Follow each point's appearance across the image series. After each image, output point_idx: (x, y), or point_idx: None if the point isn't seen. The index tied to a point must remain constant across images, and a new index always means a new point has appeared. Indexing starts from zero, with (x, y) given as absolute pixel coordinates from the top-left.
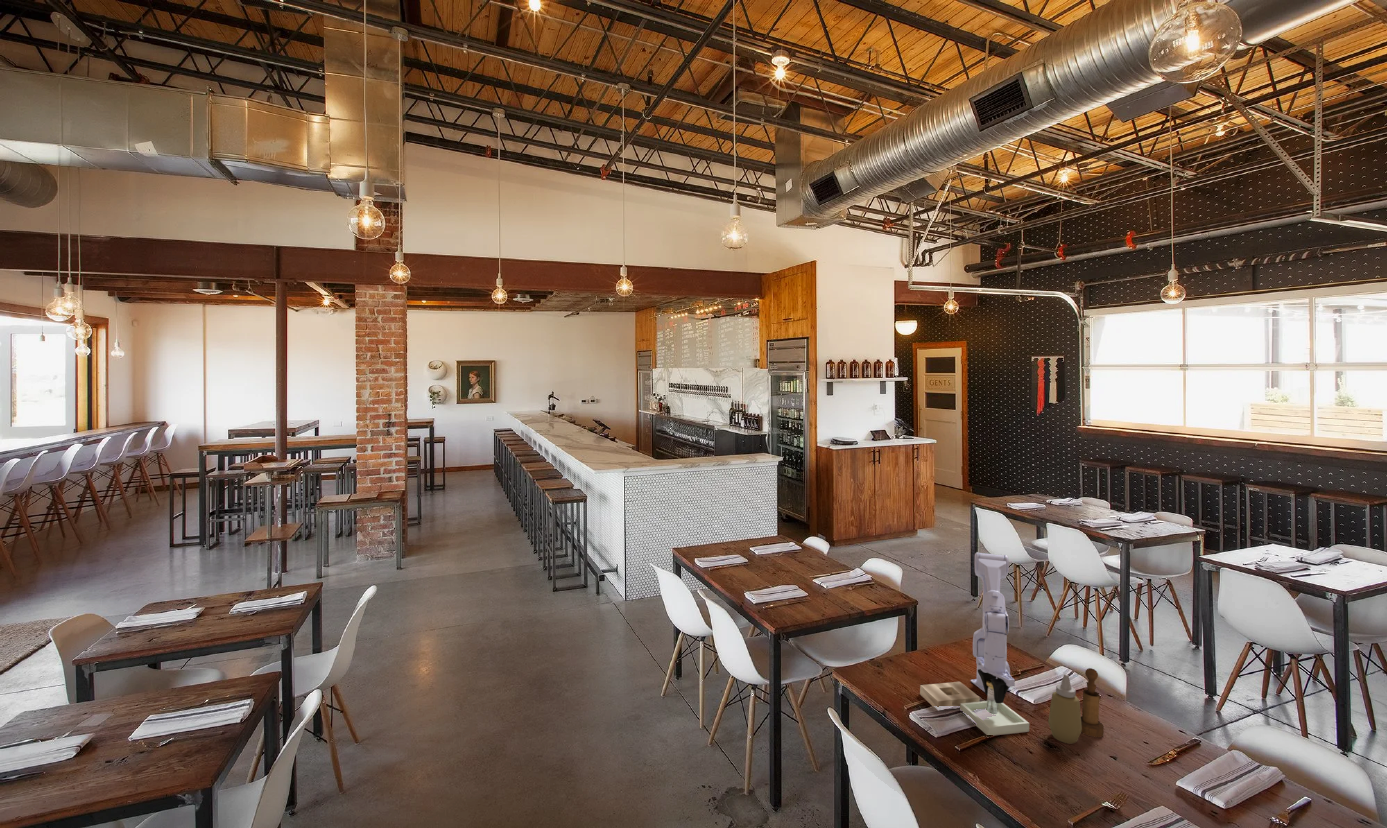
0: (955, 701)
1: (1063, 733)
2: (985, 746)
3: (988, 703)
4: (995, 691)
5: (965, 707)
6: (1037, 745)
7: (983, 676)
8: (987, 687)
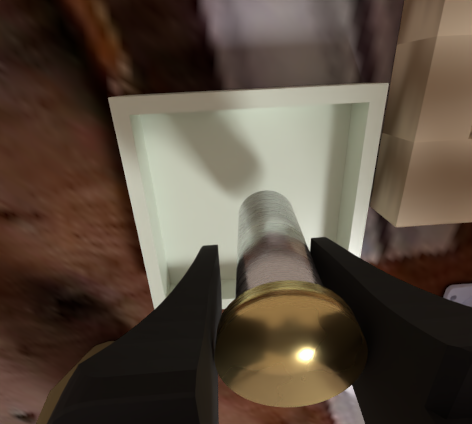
0: (421, 65)
1: (60, 381)
2: (15, 12)
3: (266, 211)
4: (181, 296)
5: (339, 88)
6: (64, 266)
7: (411, 333)
8: (336, 279)
